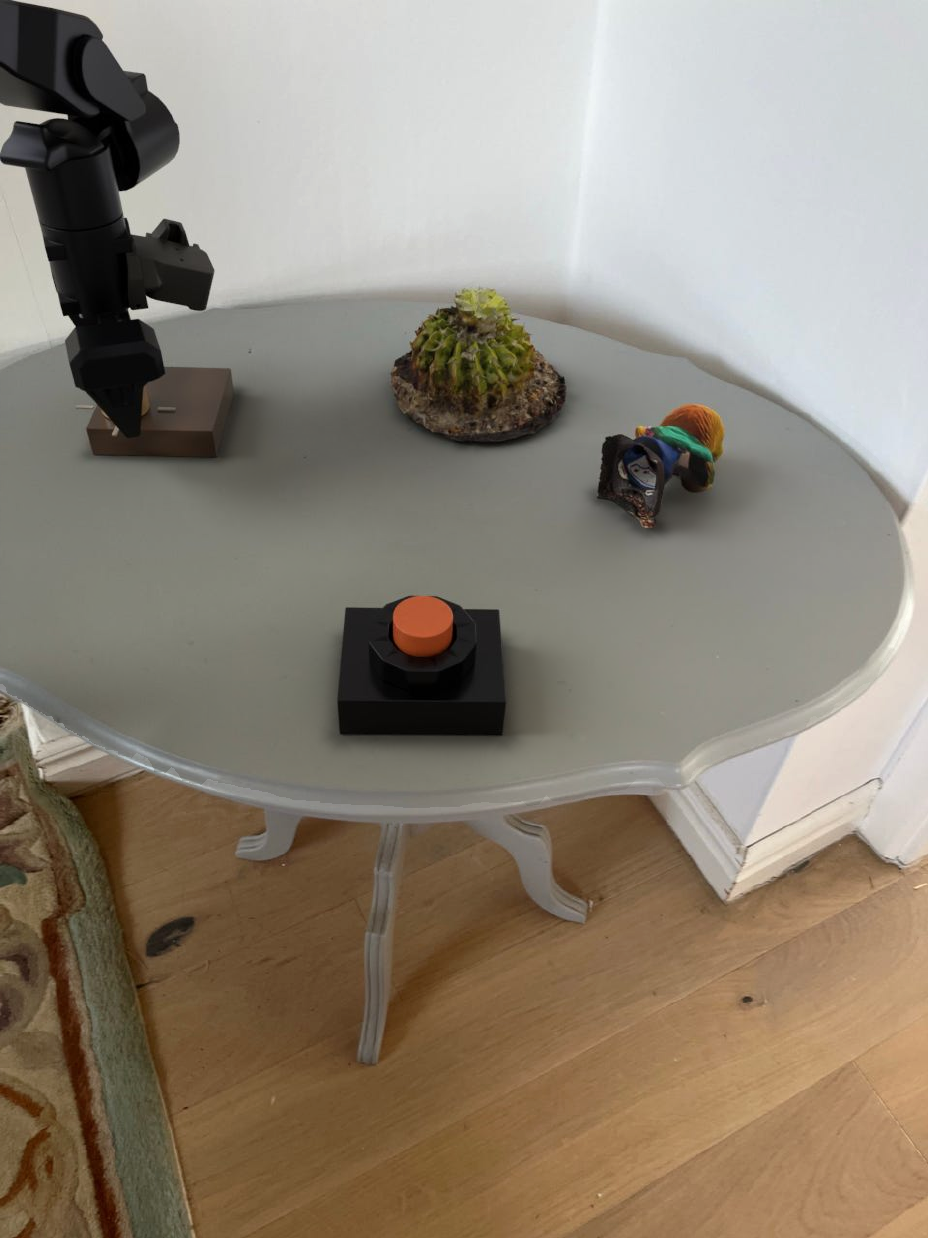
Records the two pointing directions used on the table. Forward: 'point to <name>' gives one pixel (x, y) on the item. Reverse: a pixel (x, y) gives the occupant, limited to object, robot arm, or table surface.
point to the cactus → (476, 373)
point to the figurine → (661, 460)
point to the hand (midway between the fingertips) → (125, 406)
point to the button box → (421, 677)
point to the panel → (172, 416)
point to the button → (422, 626)
